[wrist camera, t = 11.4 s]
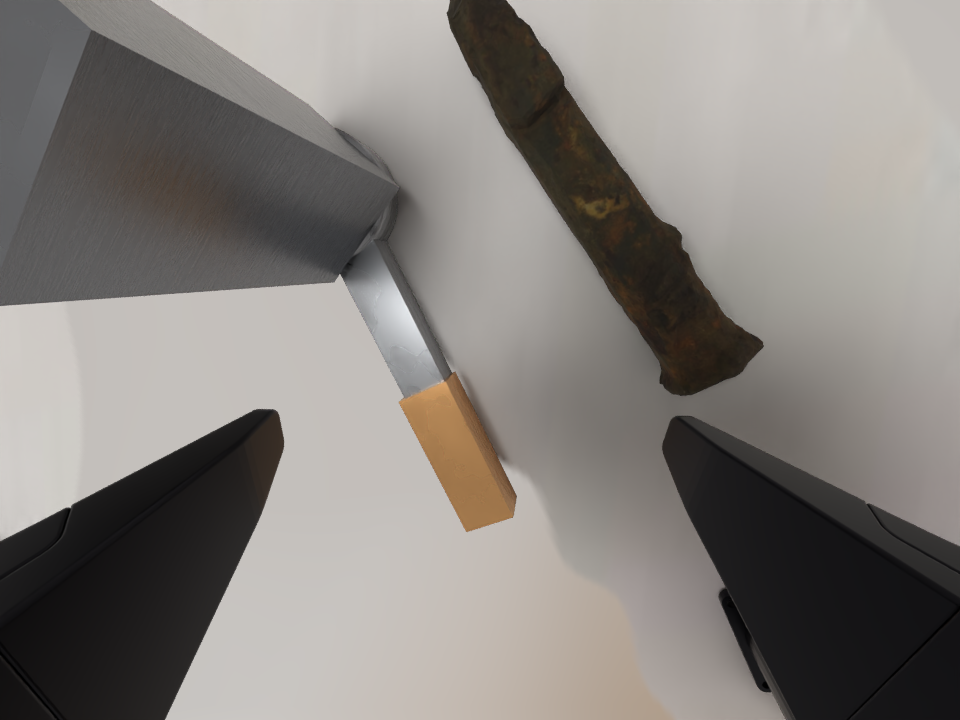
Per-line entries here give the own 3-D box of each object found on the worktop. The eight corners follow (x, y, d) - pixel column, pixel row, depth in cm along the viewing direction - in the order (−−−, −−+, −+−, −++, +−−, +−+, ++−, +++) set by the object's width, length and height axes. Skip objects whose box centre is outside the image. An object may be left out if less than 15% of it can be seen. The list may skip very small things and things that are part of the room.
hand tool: (737, 340, 19) (794, 363, 14) (659, 383, 20) (689, 416, 15) (517, -18, 17) (504, -119, 13) (445, 49, 18) (410, -21, 14)
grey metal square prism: (400, 187, 18) (91, 29, 6) (334, 282, 20) (-14, 306, 8) (307, 103, 18) (-196, -227, 6) (248, 205, 19) (-241, 108, 8)
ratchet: (542, 487, 22) (539, 548, 17) (450, 518, 24) (423, 581, 19) (362, 114, 19) (299, 65, 15) (271, 177, 21) (187, 150, 16)
